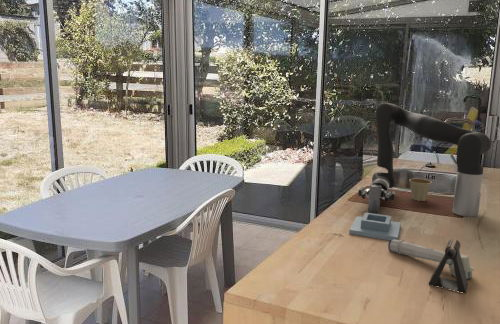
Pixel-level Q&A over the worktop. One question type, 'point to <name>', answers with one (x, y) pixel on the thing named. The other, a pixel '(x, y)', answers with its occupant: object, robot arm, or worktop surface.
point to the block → (375, 226)
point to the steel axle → (374, 199)
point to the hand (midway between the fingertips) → (374, 198)
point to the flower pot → (419, 189)
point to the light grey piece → (428, 254)
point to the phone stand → (458, 267)
